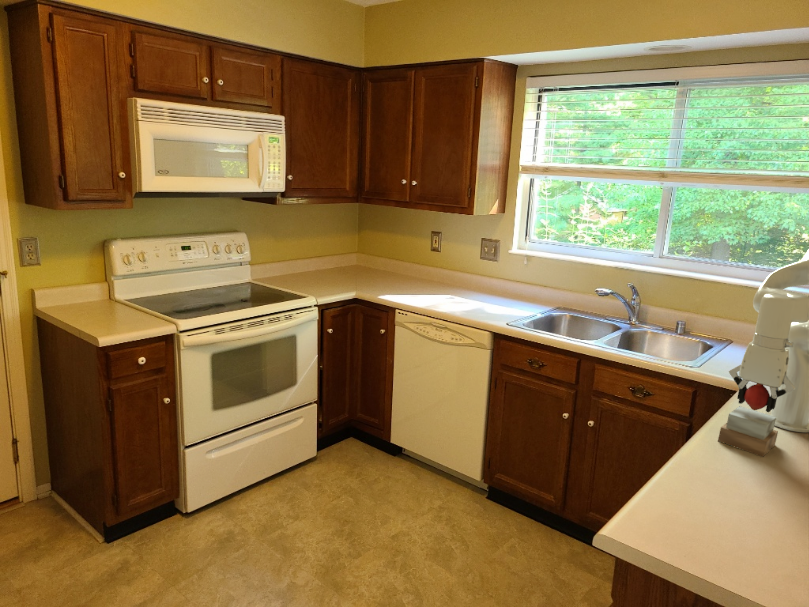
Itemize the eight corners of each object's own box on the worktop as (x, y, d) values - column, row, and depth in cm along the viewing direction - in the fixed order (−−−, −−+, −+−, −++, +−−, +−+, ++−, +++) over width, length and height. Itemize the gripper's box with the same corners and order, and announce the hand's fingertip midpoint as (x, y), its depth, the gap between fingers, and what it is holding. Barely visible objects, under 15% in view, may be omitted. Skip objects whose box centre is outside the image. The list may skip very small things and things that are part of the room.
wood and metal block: (731, 430, 170) (736, 403, 169) (774, 445, 163) (781, 417, 161) (717, 441, 163) (723, 413, 161) (763, 456, 155) (769, 428, 153)
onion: (758, 406, 164) (764, 378, 162) (771, 415, 158) (778, 386, 156) (737, 405, 163) (743, 377, 161) (749, 413, 158) (756, 385, 156)
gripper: (811, 348, 153) (795, 414, 157) (738, 331, 165) (725, 393, 169) (804, 353, 148) (788, 421, 152) (729, 335, 159) (715, 399, 164)
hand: (755, 405), depth 160 cm, fingers closed on onion, 5 cm apart
